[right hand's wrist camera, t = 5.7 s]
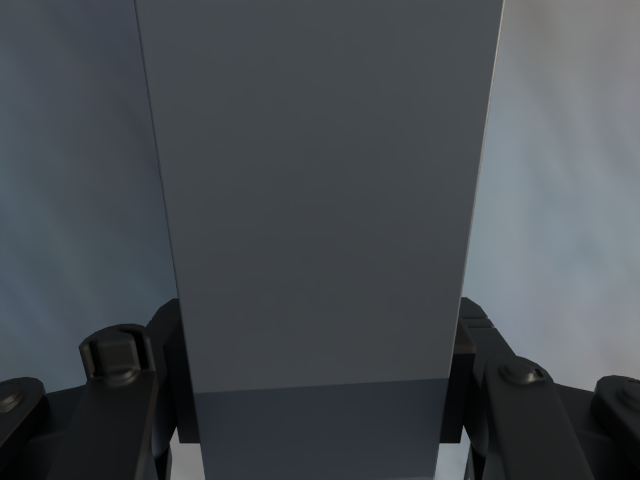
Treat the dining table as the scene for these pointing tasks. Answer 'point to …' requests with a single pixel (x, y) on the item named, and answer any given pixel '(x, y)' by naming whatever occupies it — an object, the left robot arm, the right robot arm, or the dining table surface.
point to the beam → (319, 220)
